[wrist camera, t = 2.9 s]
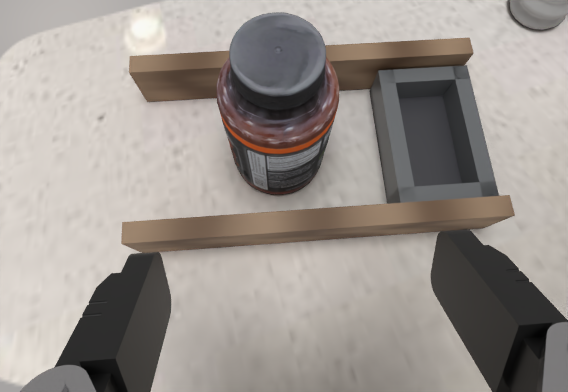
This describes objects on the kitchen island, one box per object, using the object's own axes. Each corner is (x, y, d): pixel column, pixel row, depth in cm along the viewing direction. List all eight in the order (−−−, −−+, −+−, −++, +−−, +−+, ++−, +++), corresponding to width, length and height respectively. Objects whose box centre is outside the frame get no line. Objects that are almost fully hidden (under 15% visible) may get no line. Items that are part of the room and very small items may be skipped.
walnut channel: (446, 69, 28) (469, 37, 25) (483, 227, 25) (514, 215, 22) (147, 86, 28) (129, 56, 24) (143, 253, 24) (121, 243, 21)
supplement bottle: (232, 119, 27) (202, -8, 16) (316, 114, 27) (341, -16, 16) (236, 201, 25) (205, 119, 15) (326, 194, 26) (361, 109, 15)
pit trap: (450, 86, 28) (466, 65, 26) (478, 207, 25) (499, 196, 23) (369, 91, 28) (378, 70, 25) (389, 213, 25) (400, 203, 23)
